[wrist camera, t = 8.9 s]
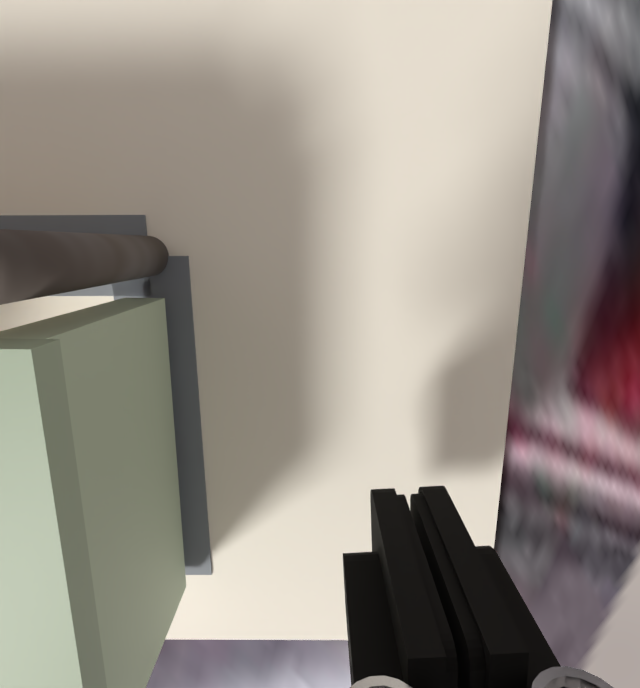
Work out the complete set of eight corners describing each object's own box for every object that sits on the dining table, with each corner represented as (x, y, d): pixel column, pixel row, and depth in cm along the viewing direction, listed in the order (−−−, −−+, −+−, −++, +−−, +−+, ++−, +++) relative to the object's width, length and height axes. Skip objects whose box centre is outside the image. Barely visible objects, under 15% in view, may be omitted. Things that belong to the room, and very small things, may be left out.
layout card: (-253, -3, 10) (-293, -20, 9) (541, -10, 10) (556, -28, 9) (-82, 621, 14) (-102, 639, 13) (477, 624, 14) (484, 642, 13)
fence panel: (116, 297, 10) (-78, 347, 5) (172, 298, 10) (30, 349, 5) (145, 585, 12) (23, 820, 7) (193, 586, 12) (103, 822, 7)
